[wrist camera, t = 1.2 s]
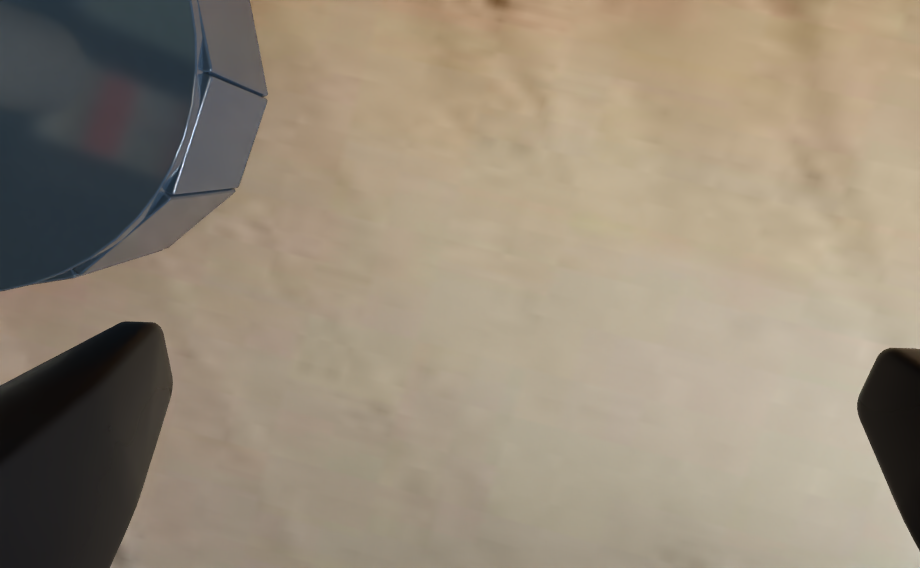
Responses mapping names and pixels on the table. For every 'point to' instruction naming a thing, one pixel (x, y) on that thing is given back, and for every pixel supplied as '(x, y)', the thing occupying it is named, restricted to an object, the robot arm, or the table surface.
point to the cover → (119, 127)
